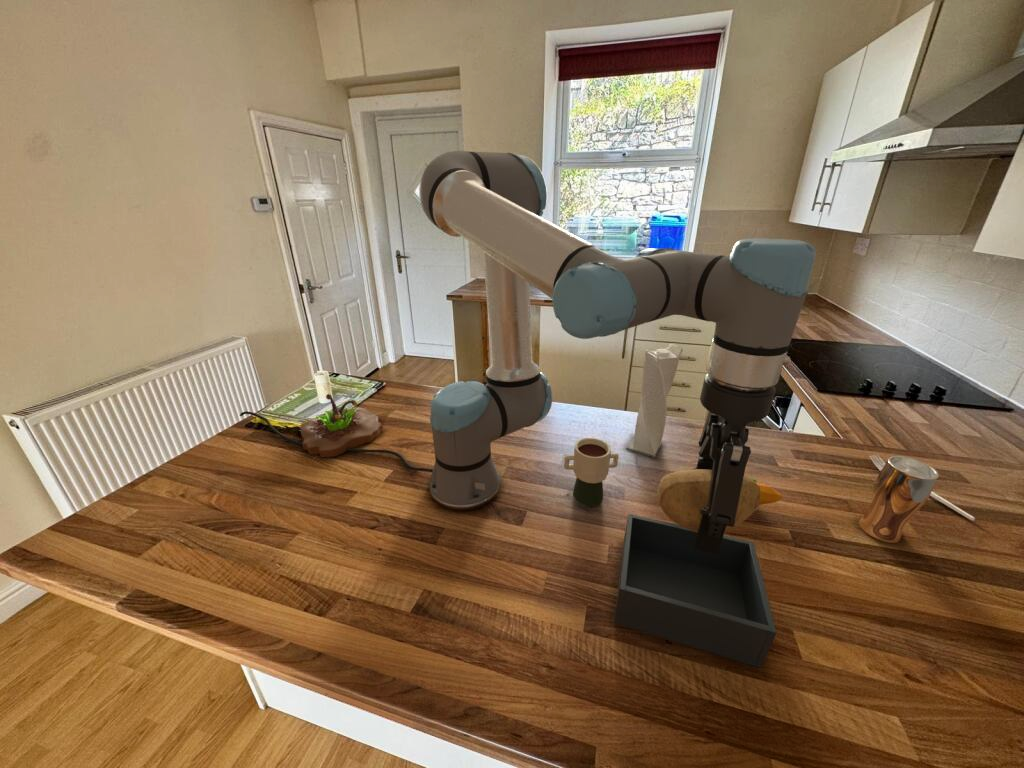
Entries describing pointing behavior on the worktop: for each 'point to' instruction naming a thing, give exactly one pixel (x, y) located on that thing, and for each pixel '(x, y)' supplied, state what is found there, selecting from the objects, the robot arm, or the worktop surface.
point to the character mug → (590, 469)
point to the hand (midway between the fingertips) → (702, 521)
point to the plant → (339, 430)
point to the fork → (881, 464)
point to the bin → (694, 591)
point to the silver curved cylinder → (897, 497)
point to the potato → (700, 497)
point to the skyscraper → (654, 400)
